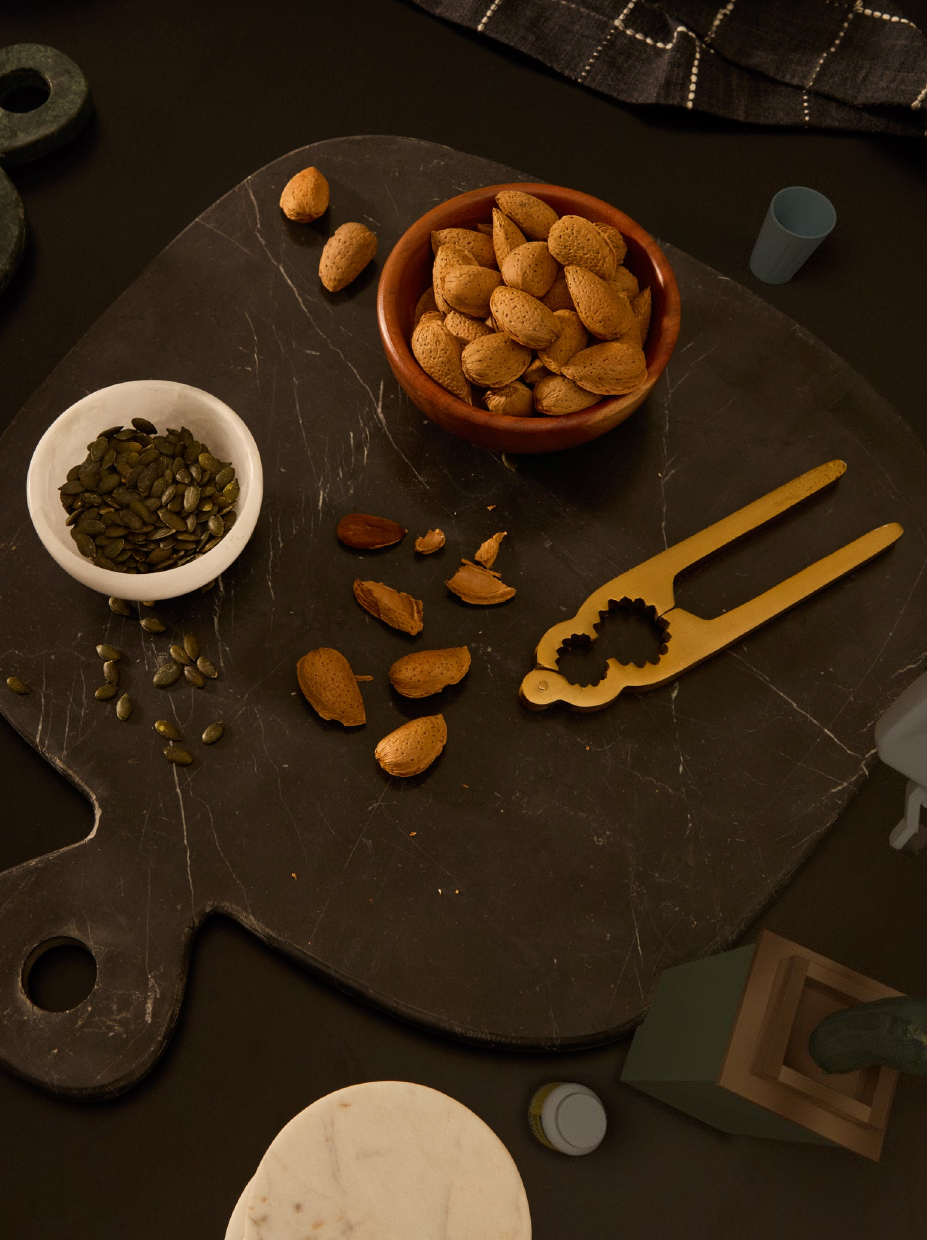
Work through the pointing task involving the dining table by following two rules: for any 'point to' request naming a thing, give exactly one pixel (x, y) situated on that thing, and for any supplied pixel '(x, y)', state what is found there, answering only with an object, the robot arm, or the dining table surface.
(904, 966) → the dining table surface
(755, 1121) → the stand
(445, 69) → the dining table surface
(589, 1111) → the supplement bottle
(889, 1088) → the socket pad
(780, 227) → the cup
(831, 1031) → the vegetable
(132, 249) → the dining table surface
